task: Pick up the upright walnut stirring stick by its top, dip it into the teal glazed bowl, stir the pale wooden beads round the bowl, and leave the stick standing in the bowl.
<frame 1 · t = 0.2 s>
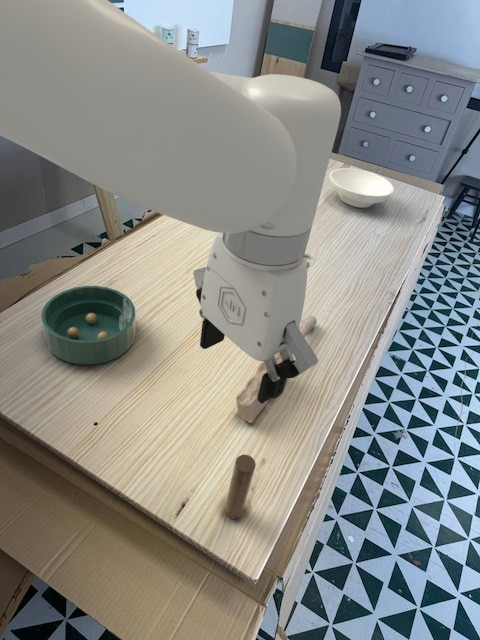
hand: (239, 368, 52), 21 cm above the worktop, tool pointing down, fingers open, 9 cm apart
sledgehammer: (246, 211, 129), on the worktop
bead b: (73, 332, 81), point 2 cm above the worktop, touching mixing bowl
tan handled block: (278, 367, 84), on the worktop
bowl: (354, 203, 143), on the worktop
bead a: (91, 318, 84), point 2 cm above the worktop, touching mixing bowl
bead c: (103, 337, 81), point 2 cm above the worktop, touching mixing bowl
screw: (286, 250, 116), on the worktop
mixing bowl: (91, 336, 83), on the worktop
stick: (233, 510, 62), on the worktop
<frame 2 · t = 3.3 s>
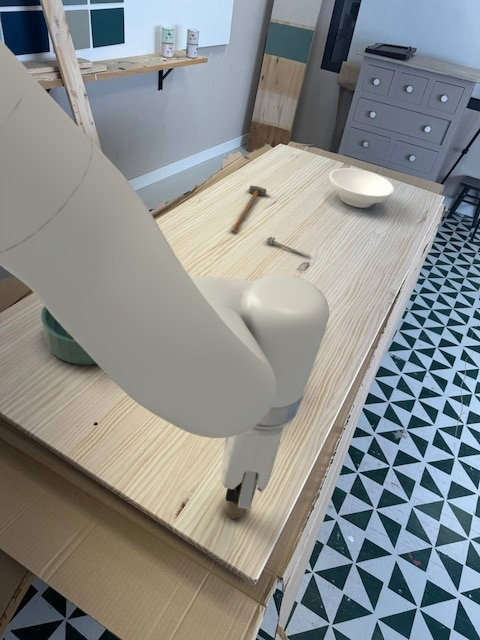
hand: (239, 487, 58), 6 cm above the worktop, tool pointing down, fingers closed on stick, 2 cm apart
stick: (233, 510, 62), on the worktop, touching gripper
everything else where it was.
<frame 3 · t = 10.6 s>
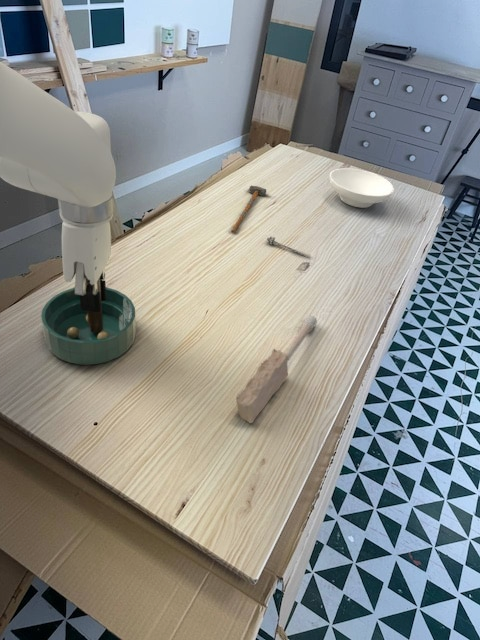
hand: (93, 303, 79), 7 cm above the worktop, tool pointing down, fingers closed on stick, 2 cm apart
stick: (96, 328, 82), point 1 cm above the worktop, touching gripper
everything else where it was.
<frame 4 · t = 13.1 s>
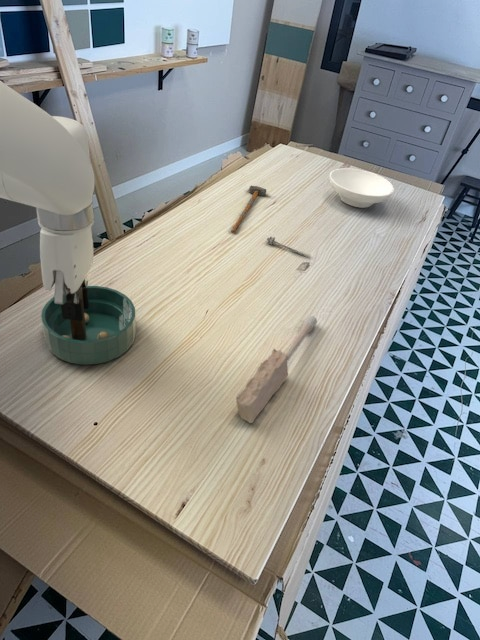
hand: (76, 312, 77), 7 cm above the worktop, tool pointing down, fingers closed on stick, 2 cm apart
bead b: (65, 341, 79), point 2 cm above the worktop, tilted 135°, touching mixing bowl
bead a: (83, 318, 84), point 2 cm above the worktop, tilted 64°, touching mixing bowl
stick: (79, 336, 81), point 1 cm above the worktop, touching gripper
everything else where it was.
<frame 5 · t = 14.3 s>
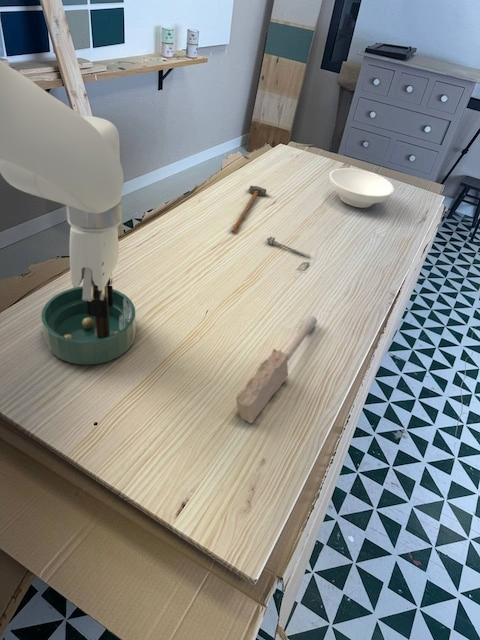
hand: (100, 309, 78), 7 cm above the worktop, tool pointing down, fingers closed on stick, 2 cm apart
bead b: (67, 339, 79), point 2 cm above the worktop, tilted 109°, touching mixing bowl
bead a: (87, 323, 83), point 2 cm above the worktop, tilted 32°, touching mixing bowl
bead c: (117, 336, 81), point 2 cm above the worktop, tilted 131°, touching mixing bowl
stick: (102, 333, 82), point 1 cm above the worktop, touching gripper
everything else where it was.
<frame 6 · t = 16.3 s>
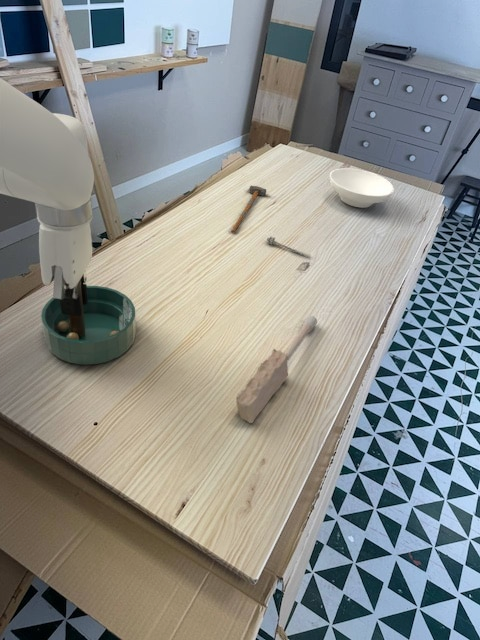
hand: (75, 307, 78), 7 cm above the worktop, tool pointing down, fingers closed on stick, 2 cm apart
bead b: (72, 338, 80), point 2 cm above the worktop, tilted 64°, touching mixing bowl
bead a: (63, 326, 81), point 2 cm above the worktop, tilted 115°, touching mixing bowl
bead c: (115, 336, 81), point 2 cm above the worktop, tilted 115°, touching mixing bowl
stick: (78, 332, 82), point 1 cm above the worktop, touching gripper
everything else where it was.
when the fingers open (6 cm above the worktop, at t = 18.1 s): stick stays where it is, resting on mixing bowl.
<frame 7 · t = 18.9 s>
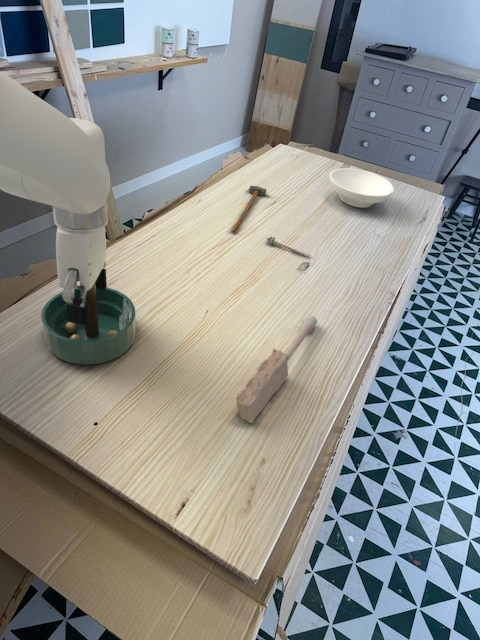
hand: (88, 304, 78), 7 cm above the worktop, tool pointing down, fingers open, 9 cm apart
bead a: (70, 327, 81), point 2 cm above the worktop, tilted 130°, touching mixing bowl
bead c: (113, 335, 81), point 2 cm above the worktop, tilted 93°, touching mixing bowl
stick: (92, 333, 83), point 1 cm above the worktop, touching mixing bowl
everything else where it was.
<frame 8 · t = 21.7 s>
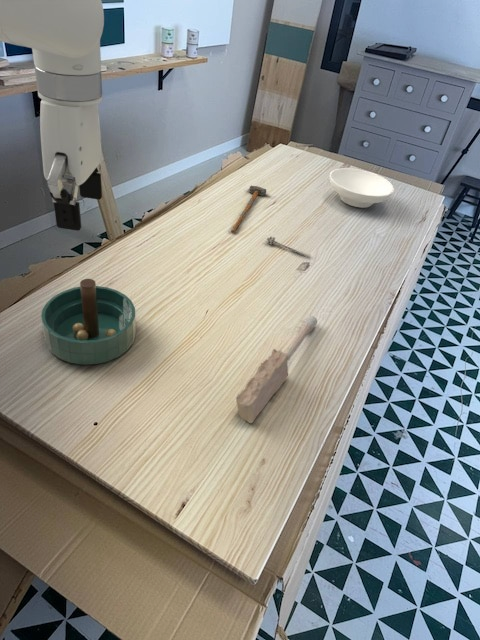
hand: (80, 212, 67), 24 cm above the worktop, tool pointing down, fingers open, 9 cm apart
bead b: (82, 335, 80), point 2 cm above the worktop, tilted 19°, touching mixing bowl
bead a: (78, 328, 82), point 2 cm above the worktop, tilted 82°, touching mixing bowl
bead c: (111, 334, 81), point 2 cm above the worktop, tilted 70°, touching mixing bowl
everything else where it was.
at the end: stick inside the target area in the mixing bowl (0.1 cm from its centre), point 0.6 cm above the mixing bowl's base; the gripper is holding nothing; bead a moved 3.4 cm from its start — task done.
